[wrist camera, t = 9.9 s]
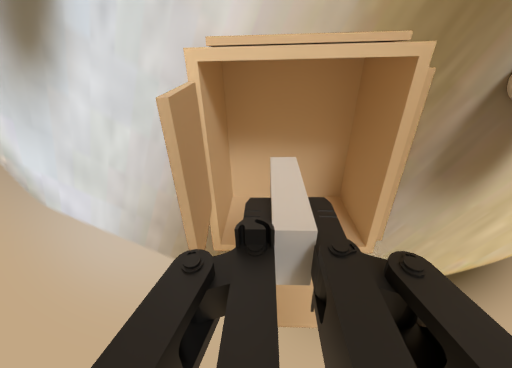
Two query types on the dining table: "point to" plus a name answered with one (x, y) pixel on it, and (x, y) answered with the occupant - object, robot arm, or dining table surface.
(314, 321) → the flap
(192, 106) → the side flap
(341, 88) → the carton
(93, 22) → the dining table surface
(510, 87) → the cup
